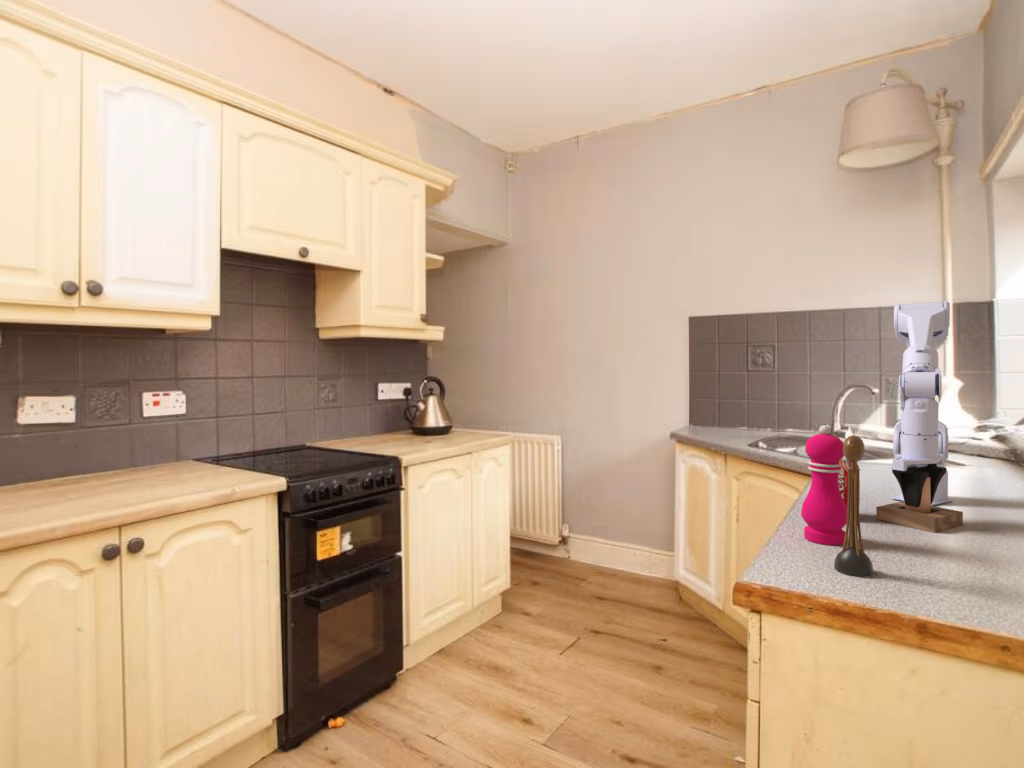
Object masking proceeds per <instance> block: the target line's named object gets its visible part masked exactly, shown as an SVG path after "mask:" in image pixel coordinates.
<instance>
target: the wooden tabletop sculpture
mask: <svg viewBox="0 0 1024 768" xmlns="http://www.w3.org/2000/svg"><path fill="white" fill-rule="evenodd" d="M864 443H865V442H864V441H863V439H862V438H861V437H860V436H859V435H849V436H848V437H847V438H845V439H844V442H843V444H844V445H843V453H844V456H845V458H846V459H847V460H849V461H851V468H847V469H848V508H847V524H846V525H845V539H844V544H842V550H841V551H839V553H837V555H836V557H835V559H834V562H833V568H834V569H835V571H837V572H838V573H840V572H841V574H843V573H844V575H845V576H850V575H851V576H850V577H857V576H859V577H858V578H865V576H870V577H871V576H873V575H874V566H873V562H872V561H871V558H870V557H869V555H867V554H866V552H865V549H864V544H863V539H862V531H861V518H860V499H859V474H860V471H861V470H862V469H861V468H859V469H858V468H857V464H858V462H860V461H861V460H862V459H863V457H864V456H865V451H866V450H865V444H864ZM859 547H860V548H859Z"/></svg>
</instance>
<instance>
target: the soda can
mask: <svg viewBox="0 0 1024 768" xmlns="http://www.w3.org/2000/svg"><path fill="white" fill-rule="evenodd" d="M839 463H841V464H842V466H840V467H841V470H842V471H841V472H839V476H838V485H839V490H840V493H841V496H842V498H843V500H844V502H845V504H846V506H847V508H848V469H847V468H851V461H849V460H847V459H846V458H845V456H843V458H842V459H841V460H840V461H839ZM857 468H858V469H860V466H859V464H858V463H857ZM860 475H861V474H860V473H859V500H861V499H860V497H861V496H860V494H861V493H860V489H861V488H860V487H861V486H860V483H861V481H860Z"/></svg>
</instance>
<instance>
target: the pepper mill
mask: <svg viewBox="0 0 1024 768" xmlns="http://www.w3.org/2000/svg"><path fill="white" fill-rule="evenodd" d="M818 432H819V434H815V435H812V436H811V437H809V438H808V439H807V440H806V444H805V447H804V448H805V449H804V450H805V451H804V452H805V454H806V455H807V457H808V458H809V459H810V460H809V461H808V464H809V465H808V470H810V473H811V482H810V488H809V490H808V492H807V495H806V496H805V498H804V500H803V503H802V505H801V512H800V515H801V518H802V519H803V521H804V522H805V523H806V524H807V525H806V526H804V528H803V537H804V539H806V541H808V542H812V543H814V542H815V544H818V543H819V544H820V545H823V546H824V545H825V546H826V545H827V546H842V545H843V544H844V539H845V532H846V530H843V528H844V527H846V524H847V506H846V504H845V502H844V500H843V498H842V496H841V493H840V490H839V485H838V476H839V472H841V471H842V470H841V467H840V466H842V464H841V463H839V461H840V460H841V459H842V458H843V456H844V453H843V445H844V442H843V440H842V439H841V438H839V437H838V436H836V435H833V434H831V432H832V429H831V427H830V426H829V425H826V424H823V425H820V427H819V431H818ZM819 544H818V545H819Z"/></svg>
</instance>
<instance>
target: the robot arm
mask: <svg viewBox="0 0 1024 768" xmlns="http://www.w3.org/2000/svg"><path fill="white" fill-rule="evenodd" d="M950 318H951V303H950V302H949V301H948V300H943V301H934V302H933V301H932V302H930V301H929V302H919V303H918V302H917V303H915V302H914V303H902V304H901V303H896V305H895V306H894V309H893V329H894V335H895V336H894V337H895V338H896V341H897V343H900V344H902V345H903V344H904V345H905V346H906V349H905V350H904V352H903V354H902V367H901V368H902V370H901V371H902V372H901V374H899V377H898V399H899V401H900V402H899V403H900V404H899V405H900V411H901V415H900V416H901V417H900V420H899V421H897V422H896V423H895V425H894V430H893V434H892V435H893V439H892V440H893V441H892V450H893V456H894V458H893V459H892V466H891V473H892V474H893V476H894V477H895V478H896V481H897V483H898V485H899V489H900V490H899V494H898V495H892V496H891V499H892V500H897V501H900V502H902V501H905V504H906V505H907V506H913V507H919V506H920V503H921V497H922V490H923V486H924V483H925V481H926V478H927V477H930V493H931V506H936V505H941V504H945V503H949V502H953V501H954V500H953V498H949V473H948V469H947V467H946V466H945V464H946V460H948V459H949V434H948V433H949V432H948V427H947V426H946V424H945V423H943V422H941V421H940V420H939V402H941V399H942V391H943V390H942V387H943V386H942V385H943V383H942V382H943V381H942V379H943V378H942V375H941V371H940V370H941V369H940V368H939V352H938V351H937V349H936V346H937V344H940V343H942V342H944V341H947V339H948V337H947V336H949V328H950V323H951V322H950V321H951V319H950ZM936 396H937V397H938V401H937V400H936Z"/></svg>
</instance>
